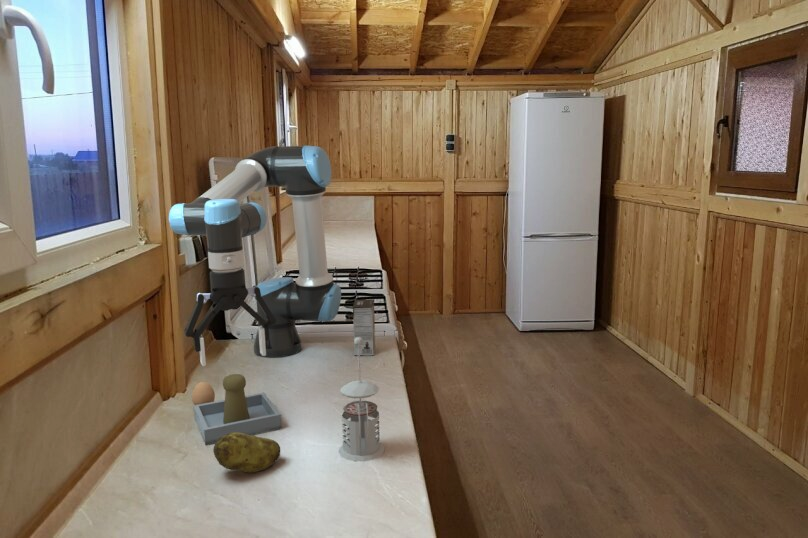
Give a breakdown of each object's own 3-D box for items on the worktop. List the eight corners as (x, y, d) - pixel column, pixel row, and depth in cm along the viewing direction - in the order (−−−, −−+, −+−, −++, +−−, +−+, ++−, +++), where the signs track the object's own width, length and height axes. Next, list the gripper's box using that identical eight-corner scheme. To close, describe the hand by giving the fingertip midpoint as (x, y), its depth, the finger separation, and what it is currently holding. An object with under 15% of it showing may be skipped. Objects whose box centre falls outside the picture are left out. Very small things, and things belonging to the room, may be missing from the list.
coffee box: (355, 347, 200) (354, 299, 197) (375, 346, 200) (374, 299, 197) (353, 356, 191) (352, 306, 188) (374, 356, 191) (373, 306, 188)
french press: (381, 437, 137) (379, 329, 132) (389, 463, 125) (386, 345, 121) (336, 441, 135) (333, 332, 130) (340, 467, 124) (336, 348, 119)
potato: (282, 475, 121) (280, 437, 120) (214, 484, 118) (211, 445, 117) (280, 455, 129) (278, 419, 128) (216, 463, 126) (214, 427, 125)
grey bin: (265, 405, 155) (264, 392, 154) (281, 428, 142) (280, 414, 141) (194, 419, 147) (193, 405, 147) (205, 445, 134) (204, 430, 133)
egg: (209, 402, 157) (207, 376, 156) (219, 408, 153) (217, 382, 152) (189, 409, 153) (186, 382, 152) (199, 415, 149) (197, 388, 148)
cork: (253, 415, 147) (250, 371, 145) (244, 426, 141) (242, 380, 139) (228, 415, 147) (225, 371, 146) (219, 425, 142) (216, 379, 140)
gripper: (169, 278, 129) (179, 374, 133) (286, 266, 140) (291, 354, 144) (165, 272, 135) (174, 363, 140) (277, 260, 146) (282, 345, 151)
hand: (233, 359), depth 142 cm, fingers open, 13 cm apart
